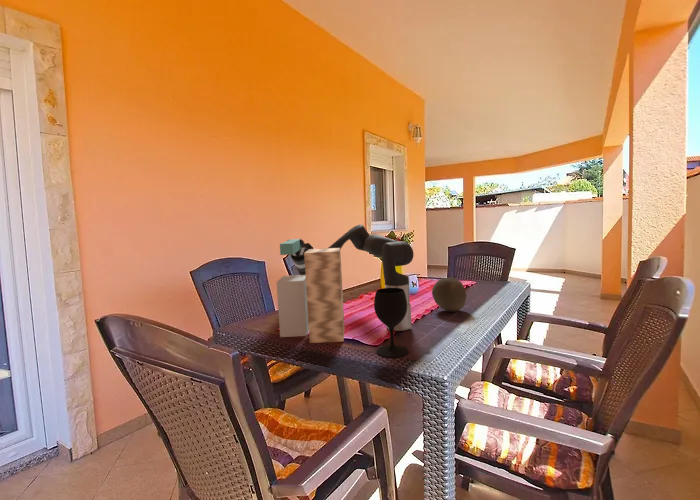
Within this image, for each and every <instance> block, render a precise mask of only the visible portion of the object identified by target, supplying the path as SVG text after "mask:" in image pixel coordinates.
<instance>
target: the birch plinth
mask: <svg viewBox="0 0 700 500" xmlns="http://www.w3.org/2000/svg"><path fill="white" fill-rule="evenodd" d="M341 255H342V254H341V250H340V248H328V247H327V248H313V249H309V250H307V251H306V252H305V253H304V258H305V275H306V291H307V308H308V324H309V332H308V338H309V341H308V342H309V344H315V343H317V344H318V343H338V342H341V343H342V342H344V340H345V315H344V295H343V294H344V292H343V276H342V274H343V273H342V261H341V260H342V258H341Z"/></svg>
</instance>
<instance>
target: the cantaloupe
mask: <svg viewBox="0 0 700 500" xmlns="http://www.w3.org/2000/svg"><path fill="white" fill-rule="evenodd" d="M431 294H432V298H433V300H434V302H435V304H437V305H438V306H439V307H440V309H442V310H444V311H447V312H453V313H454V312H457V311H460V310H461V309H462V308H464V307H465V305H466V300H467V291H466V288H465V286H464V284H463V283H462V282H461V281H460V280H459V279H457V278H455V277H445V278H439V280H437V281H436V282H435V283H434V285H433V286H432V289H431Z"/></svg>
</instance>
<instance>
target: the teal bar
mask: <svg viewBox="0 0 700 500" xmlns="http://www.w3.org/2000/svg"><path fill="white" fill-rule="evenodd" d="M300 239H301V238H293V239H287V240H286V241H284V242H282V243H279V253H280V256H287V255H288V256H291V255H292V254H294V253H296V252H297V251H299V250H300V249H302V247H301V246H300Z"/></svg>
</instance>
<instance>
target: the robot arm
mask: <svg viewBox="0 0 700 500" xmlns="http://www.w3.org/2000/svg"><path fill="white" fill-rule="evenodd" d="M299 239H300V246H301V247H302V249H300V250H299V251H297V252H296V253H294V254H292V255H290V257H291V259H292V262H293V264H294V265H295V268H296V271H297V272H298V275H305V258H304V253H305V252H306V251H307V250H309V249H314V247H313V246H312V245H311V243H309V242H307V243H305V241H304V240H303V239H302V238H299ZM349 240H350V242H351V243H352V244H353V247H355V248H356V250H359V251H363V252H367V253H369V254H370V255H371V256H372V255H373V256H374V257H377V258H382V259H381V261H382V270H383V273H382V274H383V279H384V288H401V289H403V290H404V292H405V295H406V299H407V312H406V315H405V317H404V319H403V320H402V321H401V322H400V323H399V324H398V325H396V326H395V327H394V330H395V331H394V332H400V331H401V332H403V331H407V330H412V328H413V327H412V305H411V303H410V278H409V276H408V275H407V274H402V273H400V272H397V268H396V267H400V266H401V267H402V266H407V265H409V264H410V263H412V261H413V259H414V254H415V253H414V251H413V250H414V249H413V247H412V245H410V244H409V242H406V241H399V240H396V239H395V240H394V239H392V238H390V237H387V236H384V235H381V234H377V233H373V234H370V233H369V232H368V230H367V229H366V228H365V226H364V225H363V224H357V225H354V226H353V227H352V228H350V229H349V230H347V231H346V232H345V233H344V234H343V235H342V236H340V237H339V238H338V239H337V240H336V241H335V242H333V243H332V244H330V246H329V247H327V248H340V251H341V249H342V248H343V246H344V245H345V244H346V243H347V242H348V241H349ZM387 328H388V329H387ZM386 329H387V330H389V327H388V326H386Z"/></svg>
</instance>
